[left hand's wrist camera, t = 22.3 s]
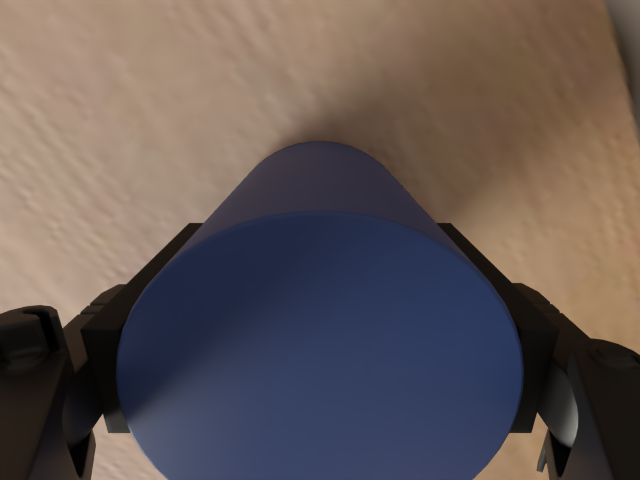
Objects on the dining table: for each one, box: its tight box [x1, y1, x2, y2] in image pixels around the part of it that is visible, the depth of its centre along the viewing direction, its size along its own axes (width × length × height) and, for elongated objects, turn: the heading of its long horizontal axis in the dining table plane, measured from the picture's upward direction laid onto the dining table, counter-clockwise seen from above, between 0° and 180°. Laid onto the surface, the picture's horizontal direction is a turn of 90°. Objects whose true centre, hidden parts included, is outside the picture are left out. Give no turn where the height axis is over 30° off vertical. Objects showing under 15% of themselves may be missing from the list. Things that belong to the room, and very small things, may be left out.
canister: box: [116, 141, 524, 480], centre depth 12 cm, size 8×8×10 cm
